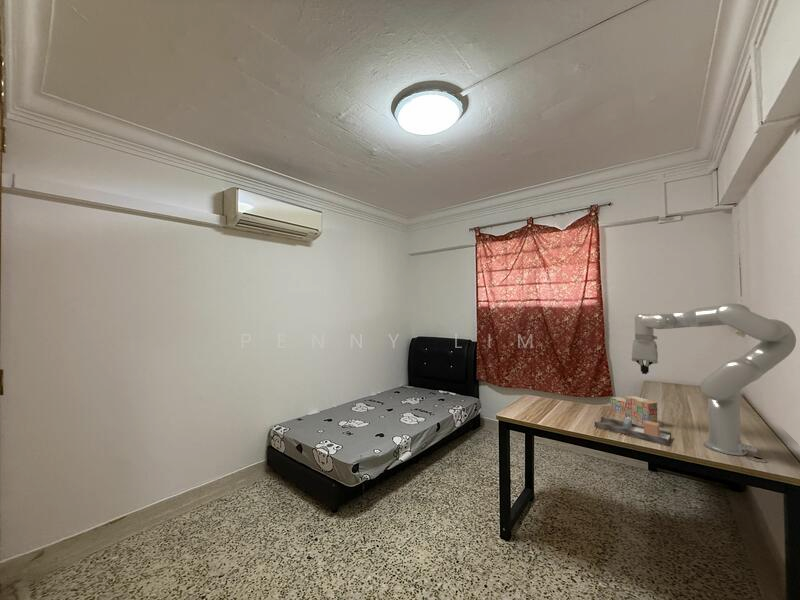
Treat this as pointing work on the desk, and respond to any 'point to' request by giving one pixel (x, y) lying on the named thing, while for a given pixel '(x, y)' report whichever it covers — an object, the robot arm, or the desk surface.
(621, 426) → the rail board
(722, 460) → the desk surface
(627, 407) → the stack of blocks
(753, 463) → the desk surface
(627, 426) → the white sliding panel
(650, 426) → the terracotta block
